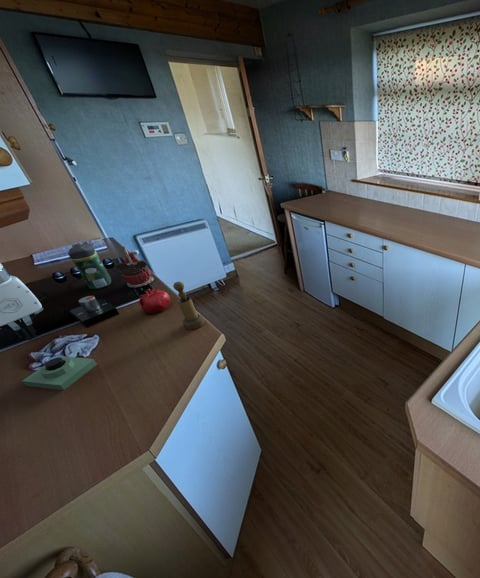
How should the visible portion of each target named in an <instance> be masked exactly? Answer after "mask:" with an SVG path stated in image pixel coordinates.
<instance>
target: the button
mask: <svg viewBox="0 0 480 578" xmlns="http://www.w3.org/2000/svg"><path fill="white" fill-rule="evenodd" d="M64 364H65V362H64V361H63V359H62V358H56V357H54V358H51V359H49V360H48V361H46V362H45V363H44V365H43V366H45V367H46V368H47V369H48V370H49V371H51V370H55V369H58V368H60V367H61V366H63V365H64Z"/></svg>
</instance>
